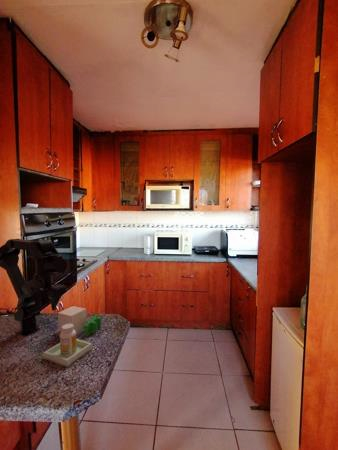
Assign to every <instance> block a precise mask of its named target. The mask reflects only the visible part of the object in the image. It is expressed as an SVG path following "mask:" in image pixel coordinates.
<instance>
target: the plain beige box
mask: <svg viewBox="0 0 338 450" xmlns="http://www.w3.org/2000/svg"><path fill="white" fill-rule="evenodd" d="M87 319H88V318H87V308H84V307H81V306H80V307H79V306H75V305H73V306H70V307H68V308H65V309H63V310H61V311H58V312H57V321H58V323H57V324H58V329H57V330H54V331H53V332H52V333H53V335H54V336H58V337H60V333H61V332H62V326H63V325H65V324H73V325H74V329H73V330H75V331H76V338H78V337H80V336H81V335H83V334H85V333H84V326H85V325H86V324H87V323H88V322H87Z"/></svg>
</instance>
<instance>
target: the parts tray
mask: <svg viewBox="0 0 338 450" xmlns="http://www.w3.org/2000/svg"><path fill="white" fill-rule="evenodd" d="M76 347H77V350H76V352H75V353H74V354H72V355H70V356H62V355H61V351H60V342H59V343H57V344H55V345H54V346H52V347H50V348H49V349H47V350H45V351H44V352H43V353H42V354H43V360H46V361H49V362H52V363H54V364H57V365H60V366H63V367H66V368H68V367H70V366H71V365H72V364H74V363H75V362H76V361H78V360H80V359H81V358H83V357H84V356H85V355H86V354H88V353H89V352H90V351H92V350H94V349H93V343H92V342H88V341H85V340H81V339H79V338H78V339H77V338H76Z"/></svg>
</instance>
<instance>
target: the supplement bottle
mask: <svg viewBox="0 0 338 450" xmlns="http://www.w3.org/2000/svg"><path fill="white" fill-rule="evenodd" d="M73 329H74V325H73V324H65V325H63V326H62V332H61V333H60V336H59V343H60V351H61V355H62V356H70V355H72V354H74V353H75V352H76V350H77V347H76V339H77V337H76V331H75V330H73Z"/></svg>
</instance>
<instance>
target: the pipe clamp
mask: <svg viewBox="0 0 338 450" xmlns="http://www.w3.org/2000/svg"><path fill="white" fill-rule="evenodd" d="M101 328H102V318H101V317H99V314H95V315H94V316H93V317H92V318H91V319H90V320H89V321H88V322H87V324H86V325H85V326H84V333H83V334H84V337H88V336H89V335H90V334H91V333H92V334H97V332H98V329H101Z"/></svg>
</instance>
